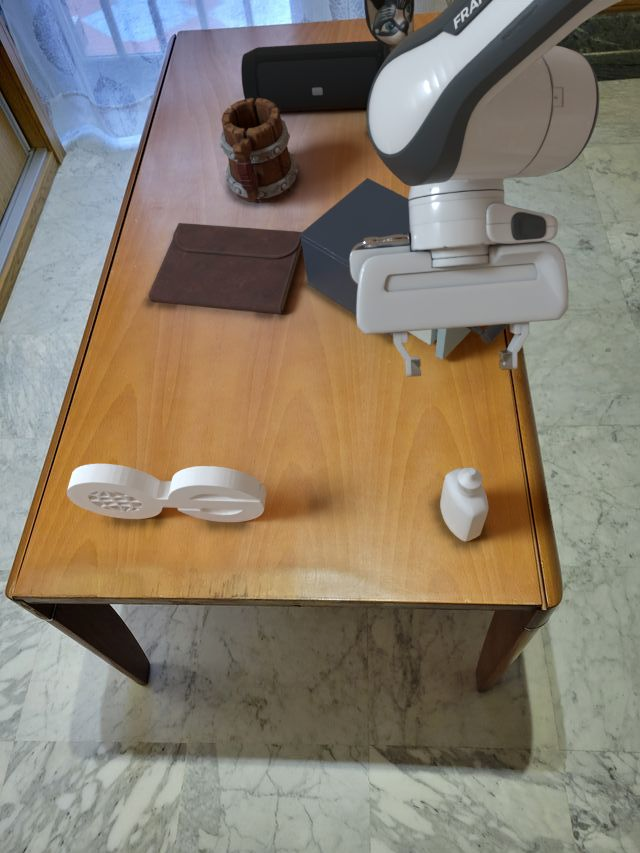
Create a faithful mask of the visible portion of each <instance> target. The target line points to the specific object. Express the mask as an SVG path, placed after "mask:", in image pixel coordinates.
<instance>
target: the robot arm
mask: <svg viewBox="0 0 640 853" xmlns="http://www.w3.org/2000/svg"><path fill="white" fill-rule="evenodd" d="M622 1H623V0H452V2H450V4H449V5H448V6H447V7H446V8H444V10H443V11H442V12H440V13H439V14H438V15H437V16H436V17H435V18H433V19H432V20H431V21H429V22H428V23H426V24H424V25H422V26H421V27H419V28H417V29H414V31H413V32H412V33H410V34H409V35H407V36H406V37H405V38H404V39H403V40H402V41H401V42H400V43H399V44H398V45H397V46H396V47H395V48H394V50H393V51H392V52H391V53H390V54H389V56H388V57H387V58H386V60H385V61H384V63H383V64H382V66H381V67H380V69H379V71H378V73H377V74H376V76H375V78H374V81H373V83H372V86H371V89H370V93H369V97H368V103H367V108H366V128H367V135H368V137H369V140H370V143H371V145H372V147H373V149H374V150H375V152H376V154H377V156H378V157H379V159H380V160H381V162H382V163H383V164H384V165H385V167H387V169H388V170H389V171H390V172H391V173H392V175H394V176H395V177H396V178H397V179H398V180H399V181H400V182H401V183H402V184H404V185H405V186H408V187H410V188H409V190H408V196H407V198H408V201H409V222H410V232H409V233H405V234H395V235H389V236H385V237H384V236H383V237H377V236H372V237H367V238H364V239H363V242H360V243H358V244H357V245H355V246H354V247H353V249H352V250H351V252H350V255H349V267H350V276H351V278H352V280H353V281H354V282H355V283H356V284H357V285H358V288H357V303H356V315H355V317H356V327H357V329H358V330H360V332H362V333H363V334H364V335H380V334H385V333H392V334H393V337H392V343H393V345H394V346H395V348H396V349H397V350H398V352H399V354H400V355H401V357H402V359H403V360H404V372H405V377H406V378H413V377H421V376H422V369H421V367H422V362H421V361H422V360H421V358H420V356H411V355H410V353H409V352H408V350H407V349H406V347H405V346H404V344H408V342H409V332H408V331H420V330H433V329H446V328H459V327H472V326H478V327H484V326H490V325H498V324H509V332H510V333H512V334H514V335H513V337H512V338H511V340H510V343H509V344H508V346H507V348H506V349H503V350H498V358H499V361H498V368H499V370H501V371H512V370H518V367H519V366H518V364H519V360H518V359H519V358H518V356H519V355H518V353H519V352H520V351H521V349H522V347H523V346H524V344H525V342H526V340H527V339H528V337H529V335H530V323H535V322H536V323H537V322H549V321H550V322H551V321H559V320H561V319H562V318H563V316H564V315H565V314H566V312H567V311H568V309H569V280H568V272H567V271H568V270H567V264H566V259H565V255H564V253H563V251H562V249H561V248H560V247H559V246H558V245H557V244H555V243H554V242H551V241H552V240H554V239H555V238H556V237H557V235H558V231H559V230H558V229H559V222H558V219H557V217H556V216H554V215H552V214H548V213H543V212H540V211H534V210H530V209H525V208H522V207H517V206H513V205H509V204H506V203H505V187H504V186H505V185H504V180H506V179H520V178H521V179H522V178H539V177H544V176H547V175H550V174H554V173H557V172H561V171H563V170H565V169H567V168H568V167H570V166H571V165H572V164H573V163H574V162H575V161H576V160H578V158H579V157H580V155H582V152H583V151H584V150H585V149H586V147H587V146H588V144H589V142H590V140H591V138H592V135H593V134H594V131H595V128H596V125H597V121H598V117H599V112H600V87H599V81H598V78H597V74H596V72H595V70H594V68H593V66H592V63H591V62H590V60H589V59H588V58H587V57H586V56H585V55H584V54H583V53H582V52H580V51H577V50H575V49H570V48H567V47H564V46H562V45H561V46H559V45H558V44H559V43H560V42H561V41H562V40H564V39H565V38H566V37H568V35H570V34H571V33H572V32H573V31H574V30H576V29H577V28H578V27H579V26H581V25H582V24H583V23H585V22H586V21H588V20H589V19H590V18H591V17H593V16H595V15H597V14H598V13H600V12H602V11H603V10H606V9H608V8H610V7H612V6H613V5H615V4H618V3H620V2H622ZM409 244H410V245H411V251H417V252H410V246H409ZM362 246H364V248H365V249H364V250H357V249H358V248H360V247H362ZM378 247H387V248H378Z"/></svg>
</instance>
